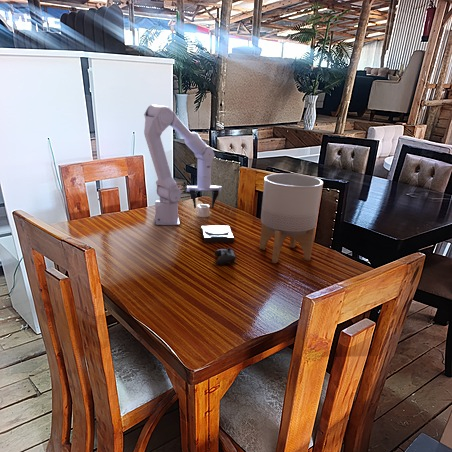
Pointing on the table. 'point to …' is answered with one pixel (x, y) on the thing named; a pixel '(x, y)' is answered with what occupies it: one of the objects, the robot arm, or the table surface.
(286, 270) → the table surface
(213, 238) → the scale
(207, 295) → the table surface
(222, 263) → the gaming controller
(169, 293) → the table surface
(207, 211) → the small grey cup
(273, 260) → the planter
